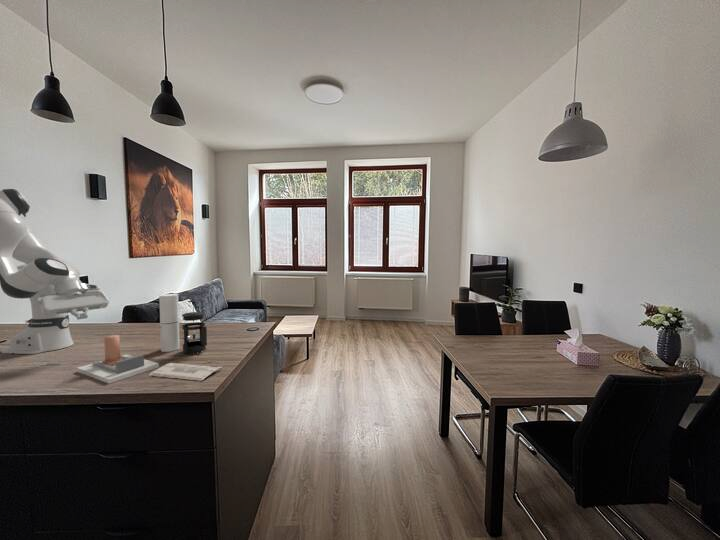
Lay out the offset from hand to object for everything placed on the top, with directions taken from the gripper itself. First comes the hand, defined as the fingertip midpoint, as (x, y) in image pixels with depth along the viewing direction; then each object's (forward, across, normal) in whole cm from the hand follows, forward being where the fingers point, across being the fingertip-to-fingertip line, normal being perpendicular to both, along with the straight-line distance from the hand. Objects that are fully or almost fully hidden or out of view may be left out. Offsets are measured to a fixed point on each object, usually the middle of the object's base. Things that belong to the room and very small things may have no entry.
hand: (83, 318), depth 117 cm
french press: (+32, +28, -7) cm, 44 cm away
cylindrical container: (+24, +24, +2) cm, 34 cm away
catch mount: (+28, +2, -4) cm, 29 cm away
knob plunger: (+24, +2, -2) cm, 25 cm away
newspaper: (+46, +13, -20) cm, 52 cm away
